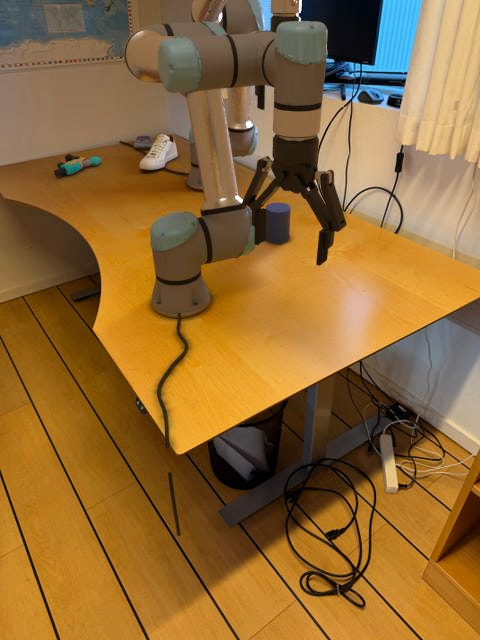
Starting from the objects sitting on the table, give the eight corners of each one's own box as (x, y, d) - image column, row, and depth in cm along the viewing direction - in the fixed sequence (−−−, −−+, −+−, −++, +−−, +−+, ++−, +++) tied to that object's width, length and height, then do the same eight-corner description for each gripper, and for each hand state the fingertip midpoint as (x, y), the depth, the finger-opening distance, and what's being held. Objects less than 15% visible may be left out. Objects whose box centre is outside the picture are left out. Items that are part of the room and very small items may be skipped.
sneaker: (133, 173, 208) (129, 144, 201) (161, 153, 230) (158, 127, 223) (155, 175, 205) (151, 146, 198) (180, 155, 227) (178, 129, 220)
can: (292, 236, 156) (294, 205, 150) (282, 246, 151) (284, 214, 145) (271, 231, 160) (272, 200, 153) (260, 241, 154) (261, 209, 148)
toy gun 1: (34, 165, 203) (60, 171, 198) (76, 150, 222) (101, 154, 216) (36, 176, 206) (62, 181, 200) (78, 159, 225) (103, 164, 219)
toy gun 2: (175, 143, 244) (165, 152, 232) (140, 141, 247) (129, 150, 235) (174, 135, 242) (164, 144, 230) (139, 134, 245) (128, 142, 233)
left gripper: (378, 141, 73) (359, 263, 85) (247, 119, 85) (248, 228, 98) (356, 153, 68) (340, 280, 81) (221, 128, 80) (225, 241, 93)
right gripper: (249, 18, 112) (249, 114, 124) (335, 13, 121) (327, 103, 133) (234, 16, 117) (236, 108, 130) (317, 12, 126) (311, 98, 139)
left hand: (289, 252), depth 89 cm, fingers open, 13 cm apart
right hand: (282, 106), depth 131 cm, fingers open, 13 cm apart
